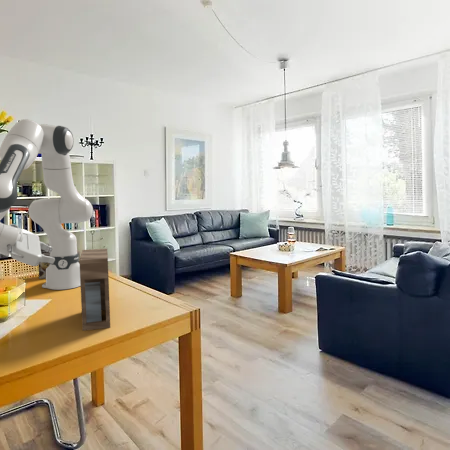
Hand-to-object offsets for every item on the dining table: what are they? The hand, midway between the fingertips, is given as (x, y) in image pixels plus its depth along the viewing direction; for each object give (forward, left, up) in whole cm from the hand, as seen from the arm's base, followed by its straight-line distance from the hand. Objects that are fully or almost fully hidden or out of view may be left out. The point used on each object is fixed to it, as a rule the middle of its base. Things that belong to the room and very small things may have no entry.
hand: (52, 255), depth 120 cm
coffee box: (-63, -10, -22) cm, 68 cm away
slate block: (+4, +12, -22) cm, 25 cm away
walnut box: (+4, +13, -22) cm, 26 cm away
